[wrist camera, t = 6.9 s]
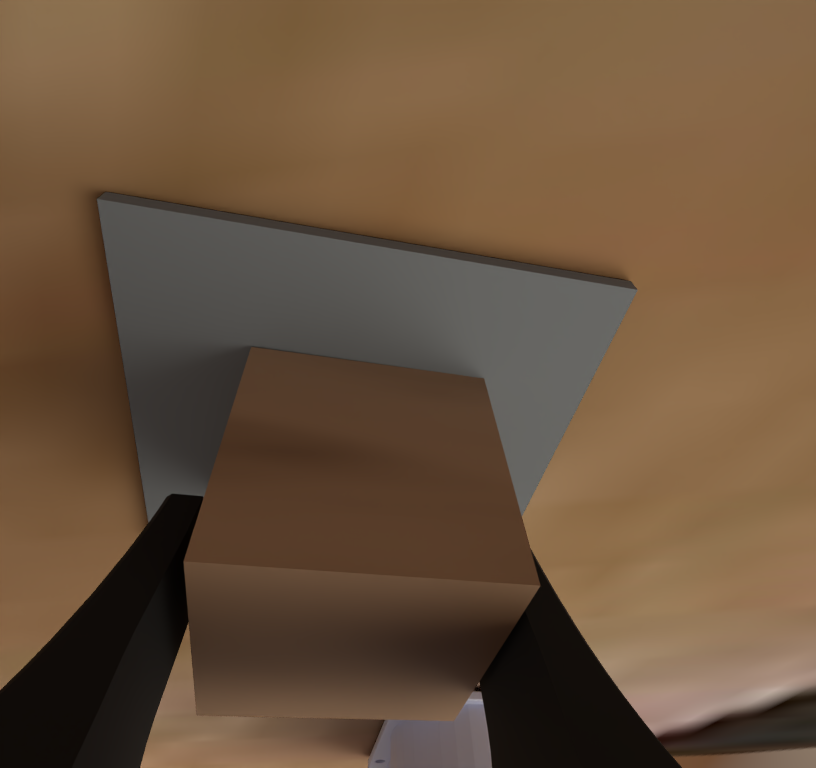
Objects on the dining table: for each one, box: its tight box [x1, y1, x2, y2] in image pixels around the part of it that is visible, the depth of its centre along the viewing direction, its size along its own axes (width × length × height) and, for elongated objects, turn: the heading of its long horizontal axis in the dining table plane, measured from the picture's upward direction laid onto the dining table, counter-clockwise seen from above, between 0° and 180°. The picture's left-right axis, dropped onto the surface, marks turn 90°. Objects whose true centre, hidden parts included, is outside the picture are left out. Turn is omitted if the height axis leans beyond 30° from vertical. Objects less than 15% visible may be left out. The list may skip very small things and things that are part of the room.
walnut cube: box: [184, 347, 540, 721], centre depth 12 cm, size 6×6×6 cm
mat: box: [97, 192, 637, 523], centre depth 14 cm, size 11×11×1 cm
